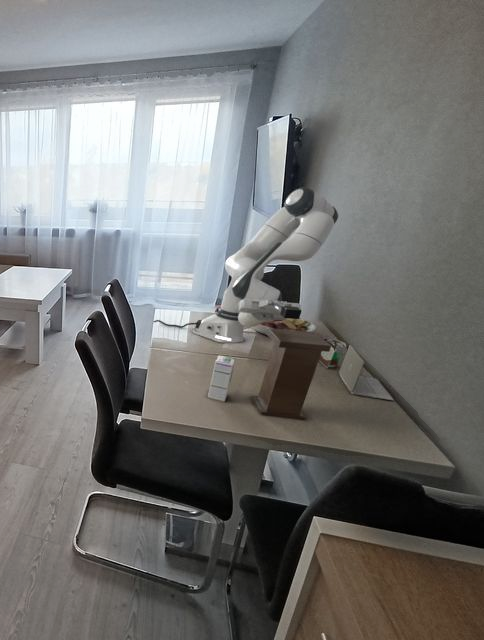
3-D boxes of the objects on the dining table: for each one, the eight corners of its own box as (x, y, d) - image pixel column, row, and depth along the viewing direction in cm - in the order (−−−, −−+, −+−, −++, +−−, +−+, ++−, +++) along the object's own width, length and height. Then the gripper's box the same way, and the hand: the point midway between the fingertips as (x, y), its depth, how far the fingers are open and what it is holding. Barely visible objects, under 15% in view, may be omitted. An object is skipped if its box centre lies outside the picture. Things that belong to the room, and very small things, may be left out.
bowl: (244, 317, 229) (248, 303, 226) (308, 326, 217) (312, 312, 214) (245, 334, 204) (249, 319, 201) (317, 346, 193) (322, 330, 189)
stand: (248, 396, 148) (267, 328, 137) (290, 400, 145) (313, 331, 135) (259, 414, 136) (281, 341, 126) (306, 420, 134) (332, 346, 123)
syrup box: (224, 402, 143) (234, 364, 137) (206, 397, 146) (215, 360, 140) (227, 395, 148) (236, 358, 142) (209, 390, 150) (218, 354, 145)
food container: (345, 371, 168) (354, 349, 164) (329, 370, 169) (337, 347, 165) (331, 359, 179) (338, 337, 175) (315, 357, 180) (322, 336, 176)
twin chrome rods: (266, 302, 151) (268, 294, 150) (279, 303, 150) (281, 295, 149) (284, 318, 135) (286, 309, 134) (299, 319, 134) (301, 310, 133)
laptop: (393, 401, 146) (408, 368, 141) (350, 394, 150) (363, 362, 145) (376, 380, 161) (389, 349, 156) (338, 374, 166) (349, 344, 160)
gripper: (233, 300, 163) (246, 292, 149) (290, 305, 159) (308, 296, 146) (232, 316, 162) (245, 309, 149) (289, 321, 158) (307, 314, 145)
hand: (277, 302), depth 147 cm, fingers closed on twin chrome rods, 3 cm apart
